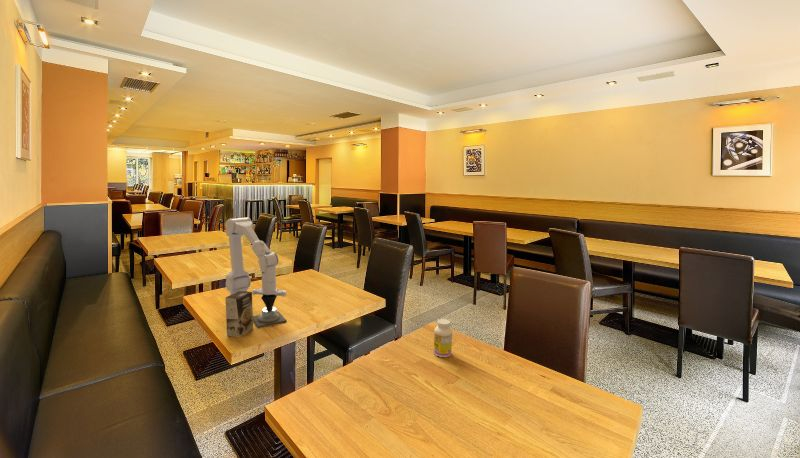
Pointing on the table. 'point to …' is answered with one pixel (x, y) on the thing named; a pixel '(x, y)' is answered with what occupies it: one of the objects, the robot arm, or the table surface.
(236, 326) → the coffee box
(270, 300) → the robot arm
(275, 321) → the hub
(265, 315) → the grey metal ring
